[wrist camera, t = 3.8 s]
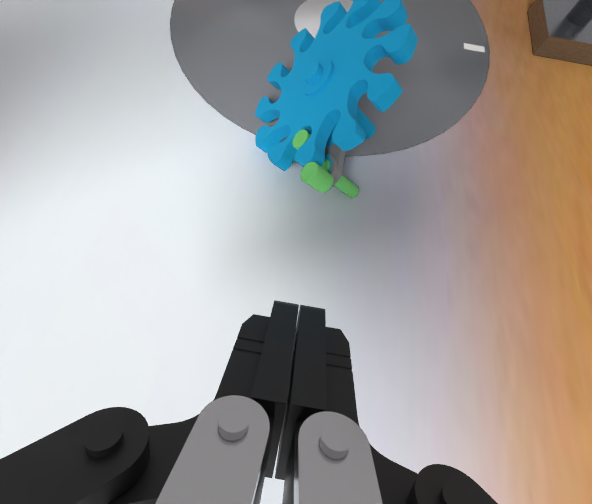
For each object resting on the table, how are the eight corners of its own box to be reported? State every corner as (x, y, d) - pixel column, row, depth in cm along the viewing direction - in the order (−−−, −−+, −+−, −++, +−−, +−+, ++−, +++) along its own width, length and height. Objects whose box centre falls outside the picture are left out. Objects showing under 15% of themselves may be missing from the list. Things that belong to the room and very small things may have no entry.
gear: (263, 37, 22) (413, -70, 15) (319, 92, 26) (456, 29, 19) (227, 194, 19) (387, 153, 12) (296, 227, 23) (443, 210, 16)
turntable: (128, 129, 22) (121, 117, 21) (217, -80, 30) (215, -95, 29) (489, 193, 22) (499, 184, 21) (475, -32, 30) (482, -45, 29)
